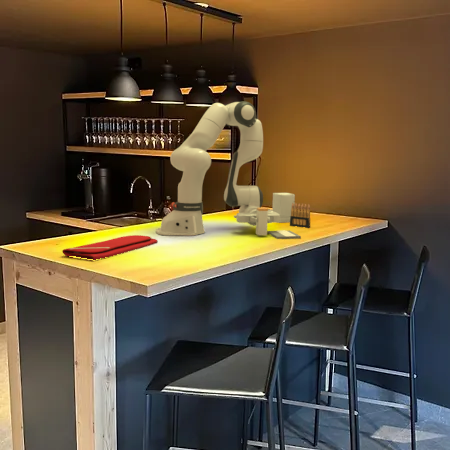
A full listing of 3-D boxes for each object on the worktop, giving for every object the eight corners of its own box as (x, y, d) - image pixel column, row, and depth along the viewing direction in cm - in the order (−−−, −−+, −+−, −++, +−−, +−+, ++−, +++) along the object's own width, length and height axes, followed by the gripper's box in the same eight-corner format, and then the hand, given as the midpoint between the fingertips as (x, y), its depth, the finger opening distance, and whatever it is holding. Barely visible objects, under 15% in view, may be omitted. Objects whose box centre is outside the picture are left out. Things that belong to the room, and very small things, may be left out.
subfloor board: (277, 238, 253) (277, 236, 253) (267, 233, 268) (267, 230, 267) (300, 238, 256) (300, 236, 255) (289, 232, 270) (289, 230, 270)
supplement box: (294, 222, 302) (295, 194, 300) (279, 223, 299) (280, 194, 296) (286, 219, 310) (287, 192, 308) (271, 220, 307) (272, 192, 305)
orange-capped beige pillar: (258, 235, 256) (259, 208, 254) (255, 233, 260) (256, 207, 258) (266, 235, 257) (267, 208, 255) (264, 233, 261) (265, 207, 259)
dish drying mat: (158, 244, 239) (158, 235, 239) (95, 263, 203) (94, 252, 202) (127, 240, 246) (127, 231, 245) (61, 258, 210) (60, 248, 209)
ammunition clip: (289, 225, 290) (290, 202, 288) (291, 225, 292) (292, 202, 290) (308, 228, 284) (309, 204, 282) (310, 227, 286) (311, 203, 284)
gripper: (233, 209, 267) (240, 213, 254) (274, 209, 272) (284, 213, 258) (232, 222, 268) (239, 227, 255) (274, 222, 273) (283, 227, 259)
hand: (262, 220), depth 257 cm, fingers closed on orange-capped beige pillar, 4 cm apart
